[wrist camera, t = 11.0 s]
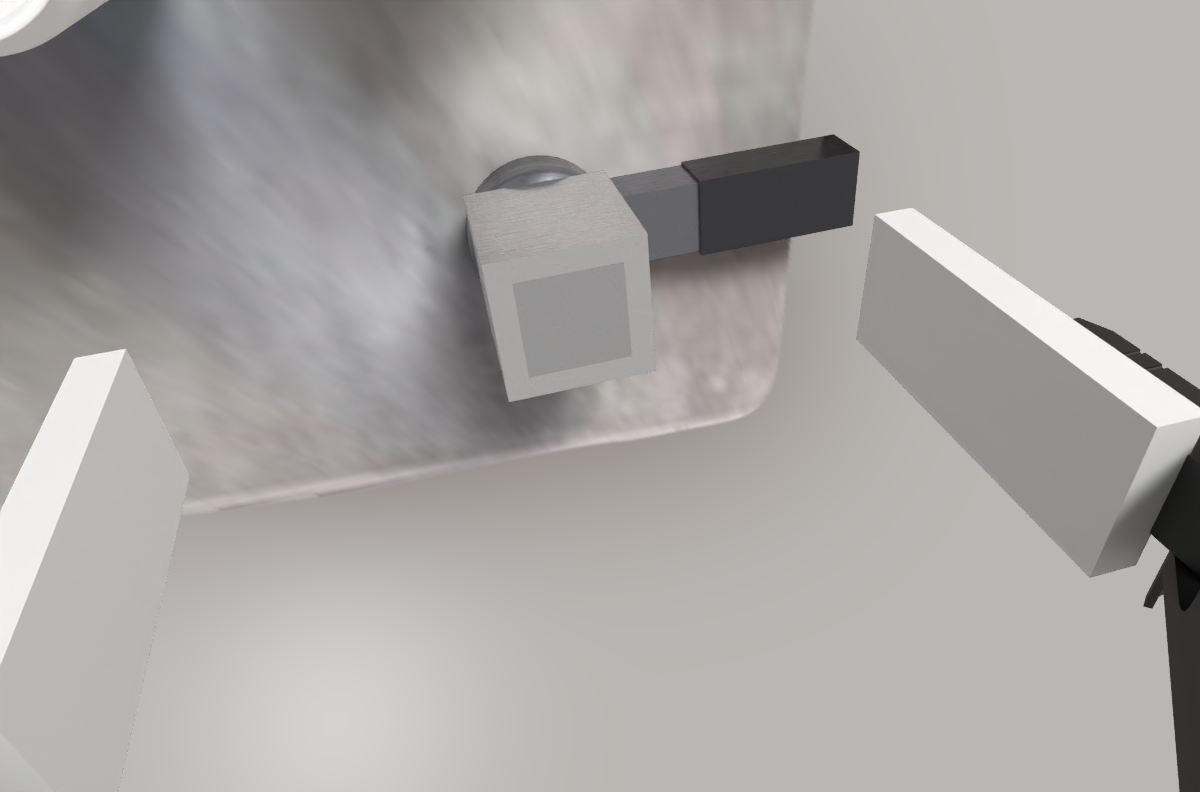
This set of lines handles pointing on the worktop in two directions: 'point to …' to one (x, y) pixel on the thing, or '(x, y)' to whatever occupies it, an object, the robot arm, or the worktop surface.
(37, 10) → the beverage can
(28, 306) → the worktop surface
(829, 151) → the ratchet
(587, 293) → the brushed cube with inset
